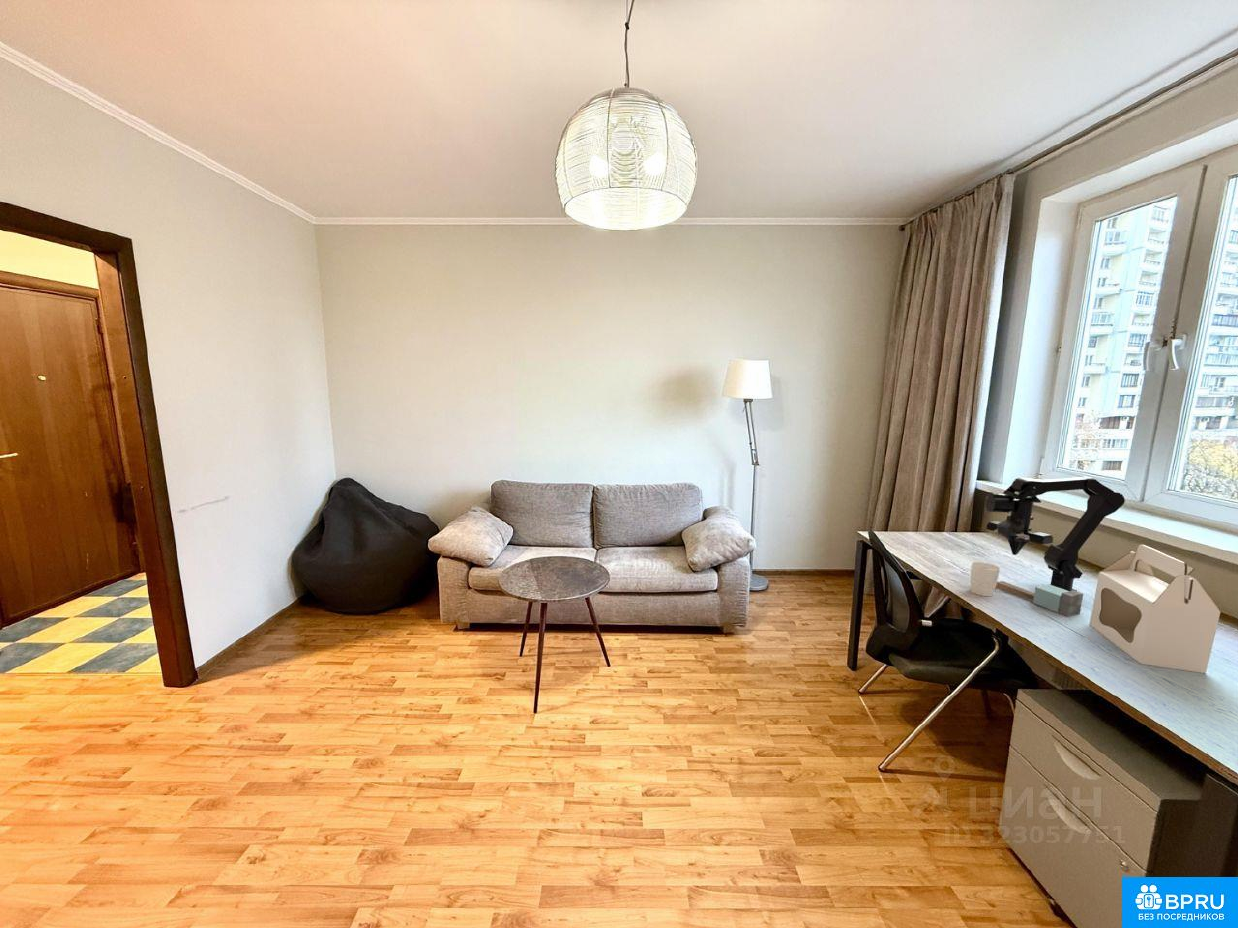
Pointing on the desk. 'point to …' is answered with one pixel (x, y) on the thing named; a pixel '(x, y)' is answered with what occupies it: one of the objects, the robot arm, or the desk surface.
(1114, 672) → the desk surface
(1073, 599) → the rail
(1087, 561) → the desk surface
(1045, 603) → the block
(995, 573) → the white cup
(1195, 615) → the gable box
